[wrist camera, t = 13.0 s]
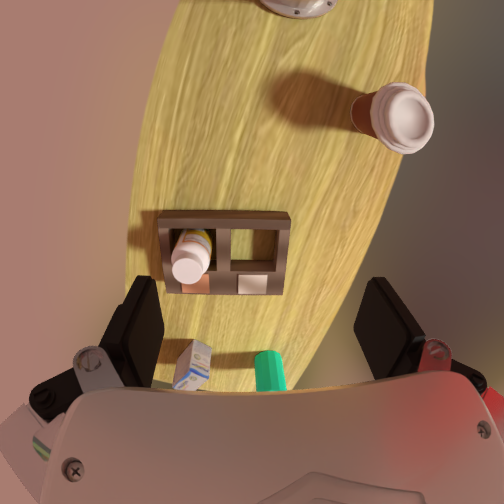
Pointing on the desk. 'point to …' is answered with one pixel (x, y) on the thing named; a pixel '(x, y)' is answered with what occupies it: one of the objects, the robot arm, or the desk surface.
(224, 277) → the socket block
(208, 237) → the supplement bottle
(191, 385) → the medicine box
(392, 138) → the coffee cup
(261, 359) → the candle
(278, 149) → the desk surface
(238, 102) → the desk surface
